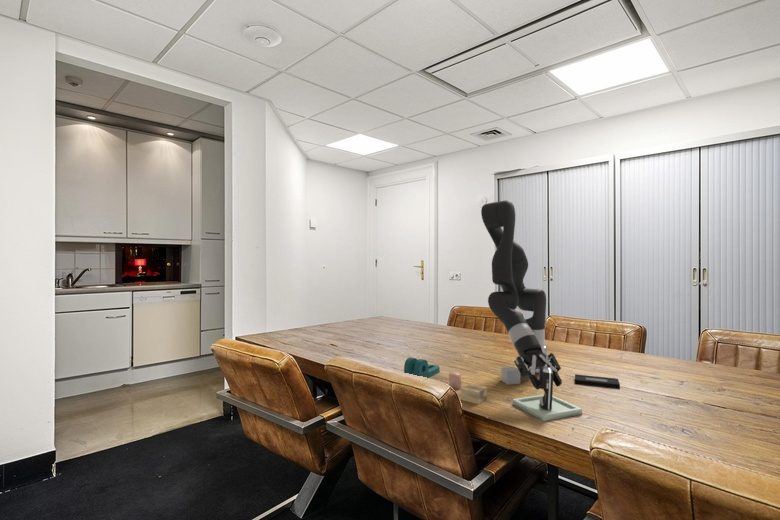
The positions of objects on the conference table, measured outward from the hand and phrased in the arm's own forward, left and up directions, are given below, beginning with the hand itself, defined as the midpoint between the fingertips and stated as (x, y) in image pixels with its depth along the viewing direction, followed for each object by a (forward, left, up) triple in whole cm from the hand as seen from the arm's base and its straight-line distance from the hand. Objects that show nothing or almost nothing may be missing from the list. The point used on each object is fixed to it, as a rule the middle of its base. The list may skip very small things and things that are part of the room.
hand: (549, 386), depth 122 cm
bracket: (+20, -47, -8) cm, 52 cm away
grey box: (-6, -27, -7) cm, 29 cm away
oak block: (+16, -16, -8) cm, 24 cm away
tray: (0, -1, -7) cm, 7 cm away
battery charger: (+1, -2, -7) cm, 7 cm away
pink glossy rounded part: (+16, -29, -7) cm, 34 cm away
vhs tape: (-34, -15, -8) cm, 39 cm away
